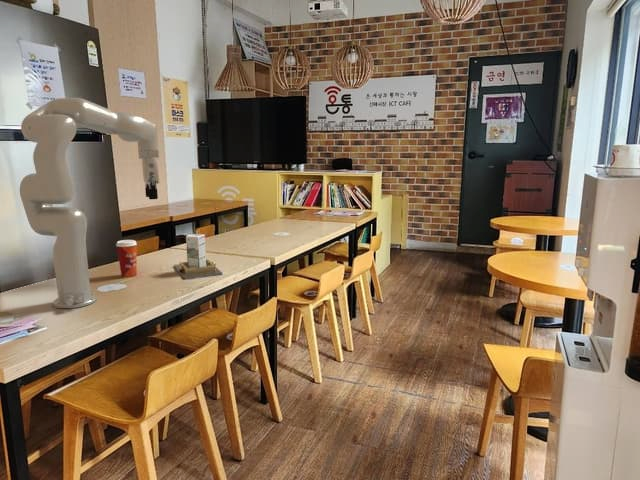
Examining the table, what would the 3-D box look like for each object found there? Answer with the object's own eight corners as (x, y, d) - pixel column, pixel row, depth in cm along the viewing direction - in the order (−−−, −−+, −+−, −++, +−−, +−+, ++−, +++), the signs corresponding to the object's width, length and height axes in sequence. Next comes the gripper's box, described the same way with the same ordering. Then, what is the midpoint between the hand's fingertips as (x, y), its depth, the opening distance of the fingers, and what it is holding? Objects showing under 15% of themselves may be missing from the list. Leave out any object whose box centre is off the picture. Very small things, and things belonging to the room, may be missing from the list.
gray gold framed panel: (222, 274, 184) (222, 267, 183) (184, 279, 177) (184, 272, 176) (208, 262, 203) (208, 256, 202) (174, 266, 196) (173, 259, 196)
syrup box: (206, 267, 191) (205, 233, 189) (199, 271, 186) (197, 236, 183) (194, 266, 193) (192, 233, 190) (187, 270, 187) (185, 235, 184)
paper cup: (132, 278, 178) (129, 243, 175) (114, 277, 180) (111, 242, 177) (143, 273, 186) (140, 239, 183) (126, 272, 187) (123, 239, 184)
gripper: (162, 155, 175) (165, 199, 178) (155, 154, 190) (158, 195, 193) (141, 155, 172) (144, 200, 175) (136, 154, 187) (139, 196, 190)
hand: (151, 198), depth 184 cm, fingers open, 9 cm apart
